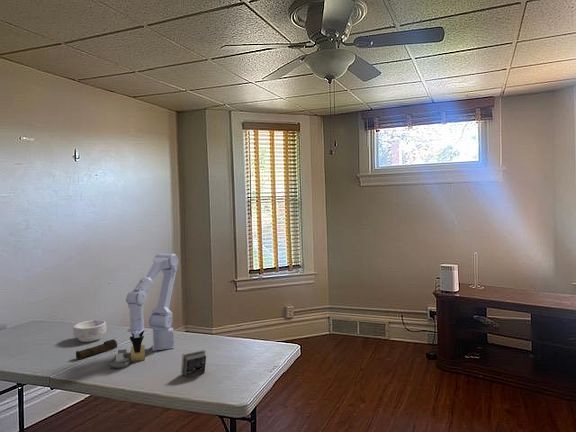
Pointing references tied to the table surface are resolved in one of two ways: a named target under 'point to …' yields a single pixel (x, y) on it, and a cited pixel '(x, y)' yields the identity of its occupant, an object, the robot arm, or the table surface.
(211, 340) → the table surface
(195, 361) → the electrical switch
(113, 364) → the ratchet
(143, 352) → the socket
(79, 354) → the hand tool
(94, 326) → the white bowl
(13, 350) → the table surface
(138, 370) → the table surface
